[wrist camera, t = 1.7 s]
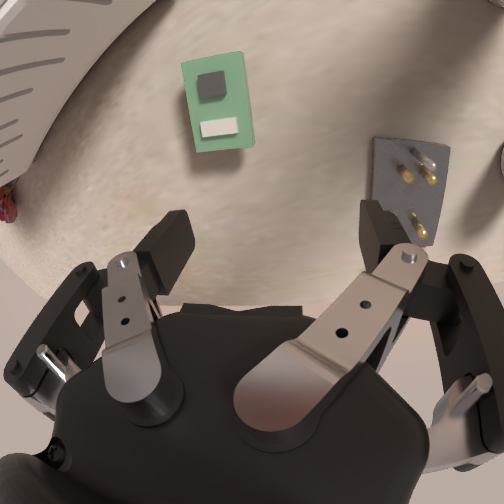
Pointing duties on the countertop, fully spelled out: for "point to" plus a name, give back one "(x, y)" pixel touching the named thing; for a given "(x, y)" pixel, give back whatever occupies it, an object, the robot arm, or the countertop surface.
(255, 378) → the robot arm
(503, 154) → the can
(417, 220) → the chassis
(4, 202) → the flower
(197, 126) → the board
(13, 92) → the toaster
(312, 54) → the countertop surface
